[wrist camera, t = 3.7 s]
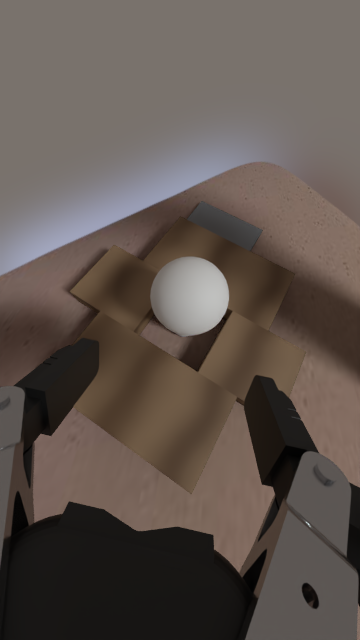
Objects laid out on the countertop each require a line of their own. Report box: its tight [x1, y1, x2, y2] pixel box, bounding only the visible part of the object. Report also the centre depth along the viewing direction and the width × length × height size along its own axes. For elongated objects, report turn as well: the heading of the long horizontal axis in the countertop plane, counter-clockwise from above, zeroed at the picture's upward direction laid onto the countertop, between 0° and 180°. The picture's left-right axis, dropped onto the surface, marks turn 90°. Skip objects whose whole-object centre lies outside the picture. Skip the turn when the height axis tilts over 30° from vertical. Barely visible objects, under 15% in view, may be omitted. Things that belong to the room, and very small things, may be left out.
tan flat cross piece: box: [70, 216, 306, 494], centre depth 22 cm, size 24×24×2 cm
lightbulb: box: [150, 257, 229, 337], centre depth 18 cm, size 6×6×11 cm
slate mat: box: [187, 201, 263, 251], centre depth 28 cm, size 10×9×1 cm
